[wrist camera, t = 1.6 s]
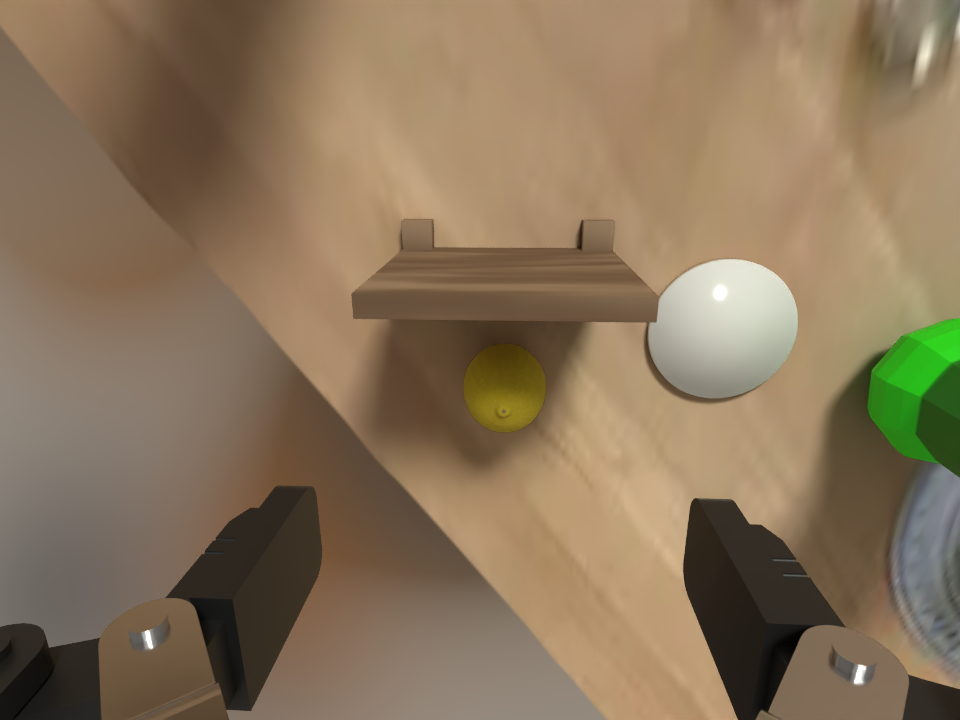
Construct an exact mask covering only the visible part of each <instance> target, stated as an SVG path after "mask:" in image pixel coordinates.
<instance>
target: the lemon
mask: <svg viewBox="0 0 960 720" xmlns="http://www.w3.org/2000/svg"><path fill="white" fill-rule="evenodd" d="M463 394H464V398H465V402H466V405H467V408H468V410H469V411H470V413H471V415H472V416H473V418H474V419H475V420H476V421H477V422H478V423H479V424H481V425H482V426H484V427H486V428H487V429H490V430H493V431H496V432H505V433H506V432H513V431H517V430H519V429H522V428H524V427H525V426H527V425H528V424H529V423H531V422H532V421H533V420H534V418H535V417H536V416H537V415H538V414H539V412H540V410H541V408H542V405H543V403H544V399H545V394H546V380H545V375H544V372H543V370H542V367H541V365H540V364H539V362H538V361H537V360H536V358H535V357H534V356H533V355H532V354H531V353H530V352H528V351H527V350H526V349H524V348H521V347H519V346H517V345H512V344H497V345H493V346H490V347H488V348H486V349H484V350H483V351H481V352H480V353H479V354H478V355H477V356H476V357H475V358H474V359H473V360H472V361H471V363H470V365H469V366H468V368H467V370H466V374H465V377H464V381H463Z"/></svg>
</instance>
